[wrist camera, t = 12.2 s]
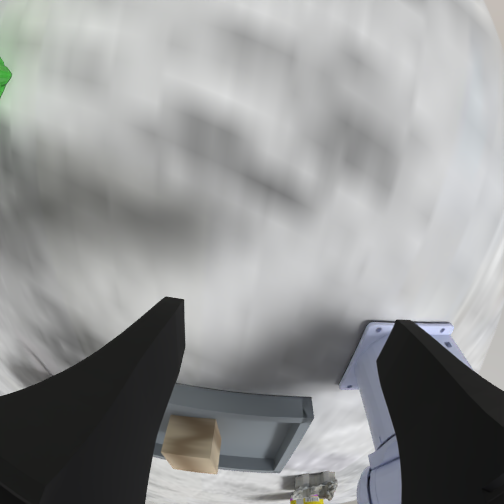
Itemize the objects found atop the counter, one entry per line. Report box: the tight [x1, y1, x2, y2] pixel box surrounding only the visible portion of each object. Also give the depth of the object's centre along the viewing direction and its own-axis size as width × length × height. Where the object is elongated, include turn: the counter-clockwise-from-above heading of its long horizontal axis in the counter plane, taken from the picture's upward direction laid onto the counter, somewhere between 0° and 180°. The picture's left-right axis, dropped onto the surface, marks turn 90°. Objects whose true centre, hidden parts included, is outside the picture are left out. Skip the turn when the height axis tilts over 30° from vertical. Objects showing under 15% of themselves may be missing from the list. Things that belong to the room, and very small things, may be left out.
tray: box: [153, 383, 314, 473], centre depth 26 cm, size 20×16×2 cm
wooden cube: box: [161, 415, 221, 474], centre depth 24 cm, size 5×5×5 cm
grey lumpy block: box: [292, 471, 337, 501], centre depth 35 cm, size 11×8×4 cm
